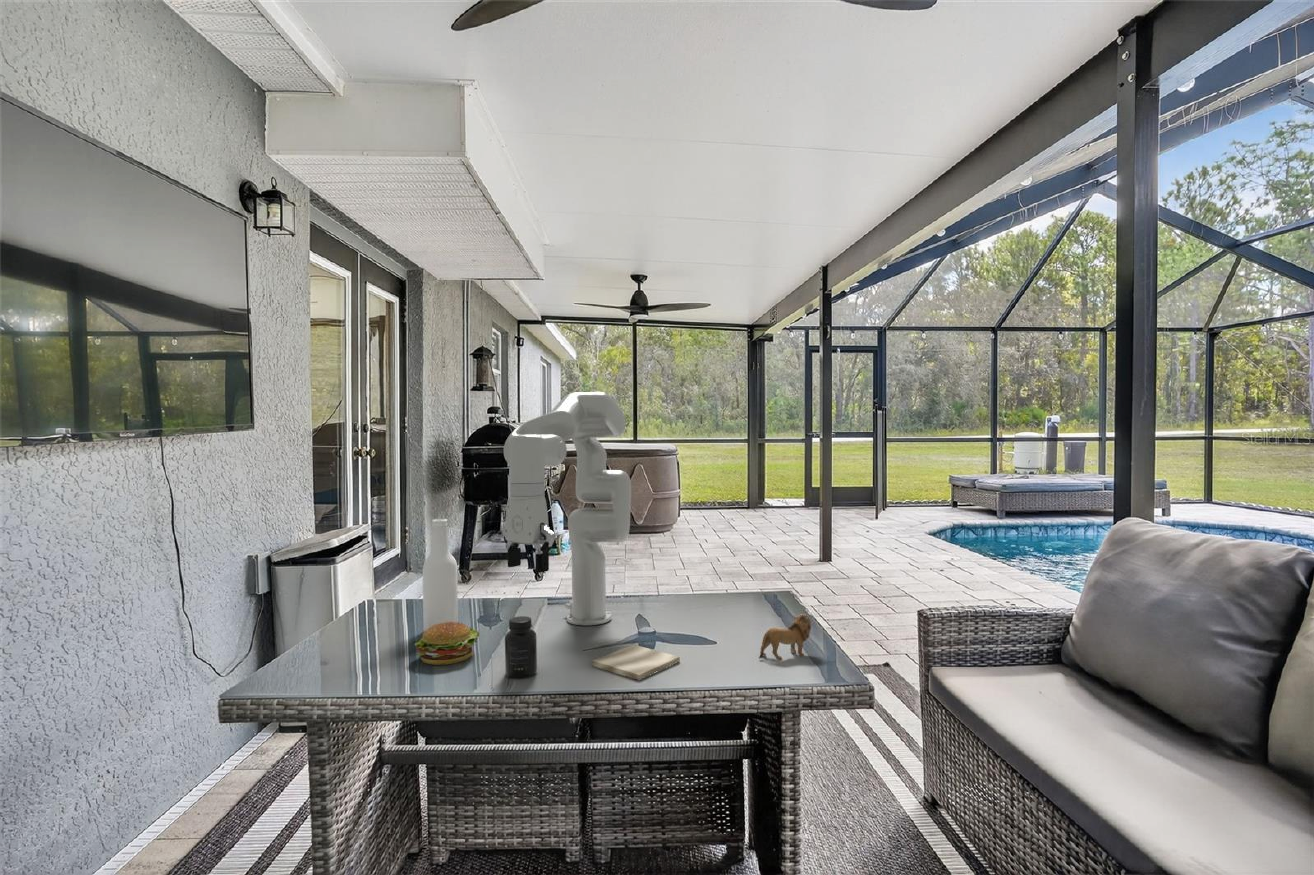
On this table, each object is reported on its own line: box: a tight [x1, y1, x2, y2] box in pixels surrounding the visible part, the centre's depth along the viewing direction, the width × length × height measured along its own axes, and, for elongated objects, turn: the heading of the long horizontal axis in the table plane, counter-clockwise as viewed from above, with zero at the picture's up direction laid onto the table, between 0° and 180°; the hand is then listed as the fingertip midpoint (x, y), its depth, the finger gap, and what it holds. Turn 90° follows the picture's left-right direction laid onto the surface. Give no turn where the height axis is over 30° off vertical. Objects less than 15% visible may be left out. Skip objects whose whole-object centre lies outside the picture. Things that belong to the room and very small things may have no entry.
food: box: [414, 621, 480, 666], centre depth 150 cm, size 14×14×8 cm
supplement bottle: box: [504, 615, 538, 680], centre depth 139 cm, size 7×7×12 cm
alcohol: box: [422, 518, 459, 632], centre depth 171 cm, size 9×9×30 cm
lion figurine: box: [758, 613, 812, 661], centre depth 149 cm, size 15×5×9 cm, turn 116°
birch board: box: [592, 644, 680, 681], centre depth 144 cm, size 14×14×1 cm
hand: (527, 569), depth 140 cm, fingers open, 9 cm apart
